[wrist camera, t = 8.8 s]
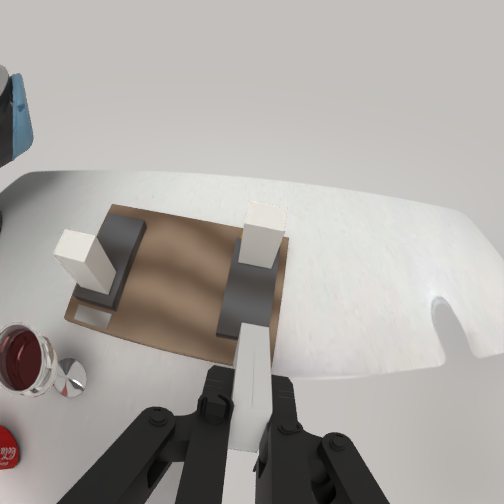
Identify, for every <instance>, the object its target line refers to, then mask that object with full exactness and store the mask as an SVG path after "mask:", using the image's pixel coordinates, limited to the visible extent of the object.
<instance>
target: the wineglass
mask: <svg viewBox="0 0 504 504" xmlns="http://www.w3.org/2000/svg"><path fill="white" fill-rule="evenodd" d="M86 382H87V377H86V372H85V369H84V368H83V366H82V365H81V364H80V363H79V362H78V361H76V360H74V359H64V360H61V361H60V362H59V363H58V358H57V355H56V352H55V349H54V347H53V346H52V344H51V343H50V341H49V340H48V338H46V337H45V336H44V335H43V334H42V333H41V332H40V331H37V330H35V329H32V328H31V327H30V326H29V325H26V324H24V323H21V322H17V323H11V324H9V325H7V326H5V327H4V328H3V329H2V330H1V331H0V384H1V385H2V386H3V387H4V389H6V390H8V391H10V392H11V393H17V394H20V395H22V396H26V397H37V396H40V395H42V394H45V393H46V392H47V391H48V390H49V389H50V388H52V386H53V385H54V384H55V387H56V388H57V390H58V391H59V392H60V393H61V394H62V395H64V396H66V397H76V396H79V395H80V394H81V393H82V392H83V391H84V389H85V387H86Z"/></svg>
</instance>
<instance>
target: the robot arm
mask: <svg viewBox="0 0 504 504" xmlns="http://www.w3.org/2000/svg"><path fill="white" fill-rule="evenodd" d="M32 142H33V131H32V126H31V120H30V115H29V110H28V105H27V99H26V94H25V89H24V83H23V79H22V76H21V74H20V73H18V74H13V75H12V76H11V77H9V75H8V72H7V70H6V68H5V67H4V66H2V65H0V168H1V167H2V166H4V165H6V164H7V163H9V162H11V161H13V160H14V159H15V158H16V157H17V156H19V155H20V154H22V153H23V152H25V151H27V150H28V149H29V148H30V146H31V145H32ZM1 225H2V216H1V212H0V230H1ZM294 398H295V397H294V389H293V384H292V382H291V381H290V380H289V378H288V377H283V376H276V375H271V363H270V340H269V327H263V326H258V325H252V324H247V323H242V324H241V329H240V333H239V338H238V343H237V347H236V352H235V356H234V361H233V368H232V369H231V368H226V367H221V366H216V365H214V366H213V367H212V368H210V369H209V370H208V373H207V377H206V381H205V385H204V389H203V393H202V395H201V396H200V398H199V399H198V405H197V410H196V411H195V412H194V413H192V414H189V415H185V416H174V415H173V413H172V412H171V411H169V410H167V409H166V408H162V407H149V408H146V409H145V410H144V411H142V412H141V414H140V415H139V416H138V417H137V418H136V419H135V420H134V421H133V422H132V423H131V425H130V426H129V427H128V428H127V429H126V430H125V431H124V432H123V433H122V434H121V436H120V437H119V438H118V439H117V440H116V441H115V442H114V443H113V444H112V445H111V446H110V447H109V449H108V450H107V451H106V452H105V453H104V454H103V455H102V456H101V457H100V458H99V459H98V460H97V462H96V463H95V464H94V465H93V466H92V467H91V468H90V469H89V470H88V471H87V472H86V473H85V474H84V475H83V476H82V478H81V479H80V480H79V481H78V482H77V483H76V484H75V485H74V486H73V487H72V488H71V489H70V490H69V491H68V492H67V493H66V494H65V495H64V496H63V497H62V498H61V500H60V501H59V502H58V503H57V504H144V503H145V502H146V500H147V499H148V498H149V496H150V495H151V493H152V492H153V490H154V489H155V487H156V486H157V484H158V483H159V482H160V480H161V479H162V477H163V476H164V474H165V473H166V471H167V470H168V468H169V467H170V465H171V464H172V462H184V467H183V471H182V475H181V479H180V484H179V488H178V492H177V496H176V501H175V504H221V503H222V494H223V485H224V476H225V467H226V459H227V450H228V449H234V450H240V451H248V452H255V453H257V451H258V449H259V456H258V459H257V461H256V464H255V466H254V469H253V472H255V471H256V494H255V504H390V503H389V502H388V500H387V499H386V497H385V495H384V493H383V492H382V490H381V489H380V487H379V485H378V484H377V482H376V480H375V479H374V477H373V476H372V474H371V472H370V471H369V469H368V467H367V466H366V464H365V462H364V461H363V459H362V457H361V456H360V454H359V452H358V451H357V449H356V447H355V446H354V444H353V442H352V441H351V440H350V439H349V438H348V437H347V436H345V435H344V434H341V433H337V432H336V433H335V432H332V433H328V434H326V435H325V436H324V437H323V438H322V437H319V436H315V435H312V434H310V433H308V432H306V431H305V430H303V427H302V425H301V424H300V423H299V422H298V420H297V412H296V404H295V399H294Z"/></svg>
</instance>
